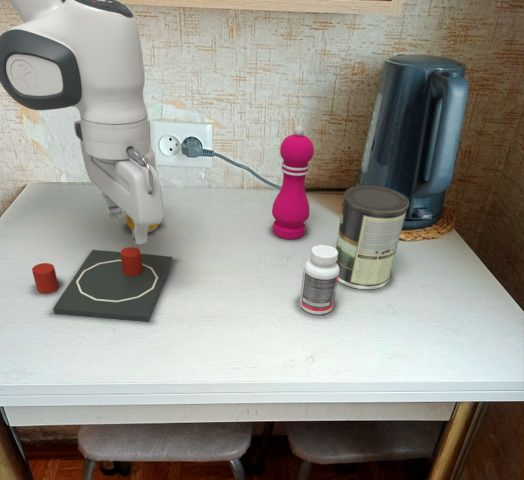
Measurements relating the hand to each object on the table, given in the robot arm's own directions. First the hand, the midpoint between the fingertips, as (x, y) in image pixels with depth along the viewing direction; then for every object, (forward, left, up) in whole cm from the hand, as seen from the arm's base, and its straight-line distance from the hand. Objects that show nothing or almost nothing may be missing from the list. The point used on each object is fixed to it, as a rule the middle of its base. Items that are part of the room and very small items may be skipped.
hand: (127, 229), depth 79 cm
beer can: (-2, +18, -8) cm, 20 cm away
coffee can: (+39, +7, -9) cm, 40 cm away
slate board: (-1, -3, -8) cm, 9 cm away
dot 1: (-12, -6, -8) cm, 16 cm away
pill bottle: (+31, -4, -9) cm, 32 cm away
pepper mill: (+26, +21, -9) cm, 34 cm away
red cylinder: (0, 0, -7) cm, 7 cm away
